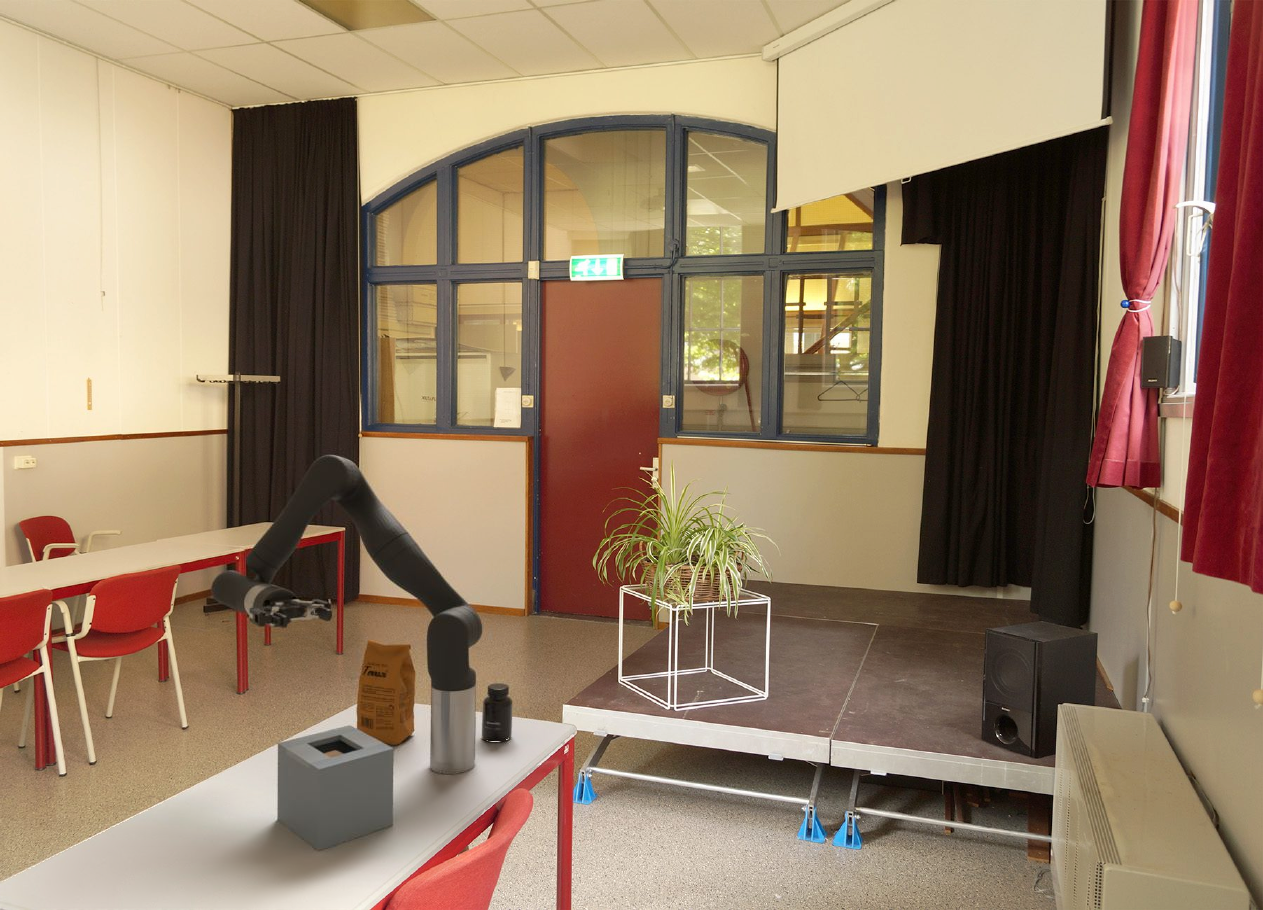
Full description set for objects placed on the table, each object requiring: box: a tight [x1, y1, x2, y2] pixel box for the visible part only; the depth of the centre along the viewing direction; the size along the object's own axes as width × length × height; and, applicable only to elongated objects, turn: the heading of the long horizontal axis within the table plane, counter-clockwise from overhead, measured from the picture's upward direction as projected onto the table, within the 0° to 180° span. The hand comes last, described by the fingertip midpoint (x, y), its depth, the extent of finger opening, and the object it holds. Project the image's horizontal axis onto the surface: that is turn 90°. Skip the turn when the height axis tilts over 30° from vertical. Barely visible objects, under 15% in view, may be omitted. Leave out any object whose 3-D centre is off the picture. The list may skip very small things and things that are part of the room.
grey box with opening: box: [276, 724, 395, 852], centre depth 160 cm, size 16×14×14 cm
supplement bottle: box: [481, 682, 514, 742], centre depth 204 cm, size 7×7×12 cm
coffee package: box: [356, 639, 416, 746], centre depth 203 cm, size 10×12×22 cm
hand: (307, 618), depth 167 cm, fingers open, 8 cm apart
